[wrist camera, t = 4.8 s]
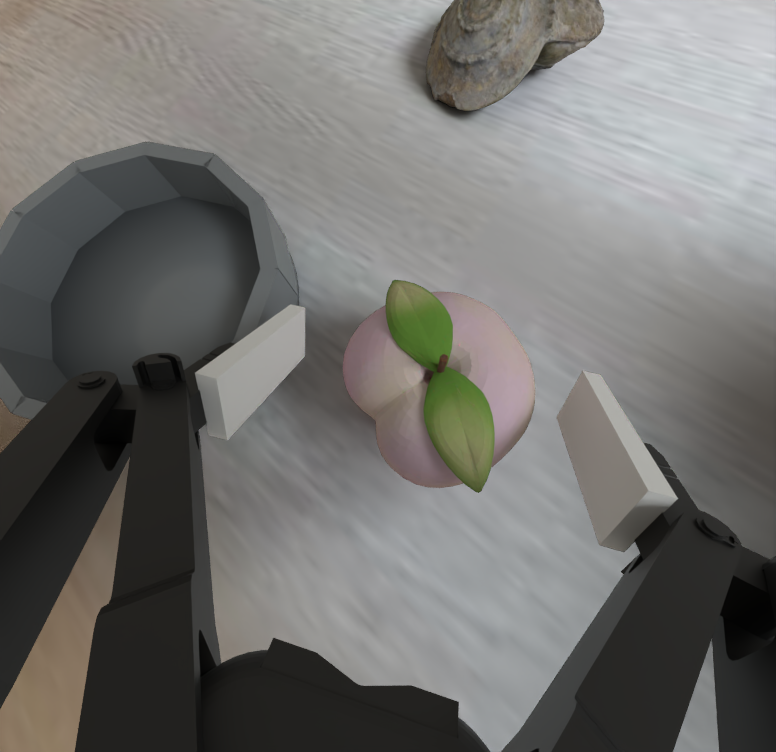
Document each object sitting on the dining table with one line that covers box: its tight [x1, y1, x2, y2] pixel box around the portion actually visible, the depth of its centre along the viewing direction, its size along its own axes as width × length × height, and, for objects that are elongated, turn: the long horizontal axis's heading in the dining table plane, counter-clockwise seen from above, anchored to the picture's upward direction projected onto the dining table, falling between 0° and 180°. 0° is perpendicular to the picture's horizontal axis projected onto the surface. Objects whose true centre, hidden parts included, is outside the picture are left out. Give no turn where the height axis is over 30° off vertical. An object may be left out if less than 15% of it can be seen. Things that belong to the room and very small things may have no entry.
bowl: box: [0, 142, 299, 425], centre depth 21 cm, size 18×18×4 cm
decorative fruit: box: [343, 280, 535, 493], centre depth 16 cm, size 9×8×10 cm
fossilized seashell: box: [426, 0, 604, 111], centre depth 24 cm, size 11×10×7 cm
